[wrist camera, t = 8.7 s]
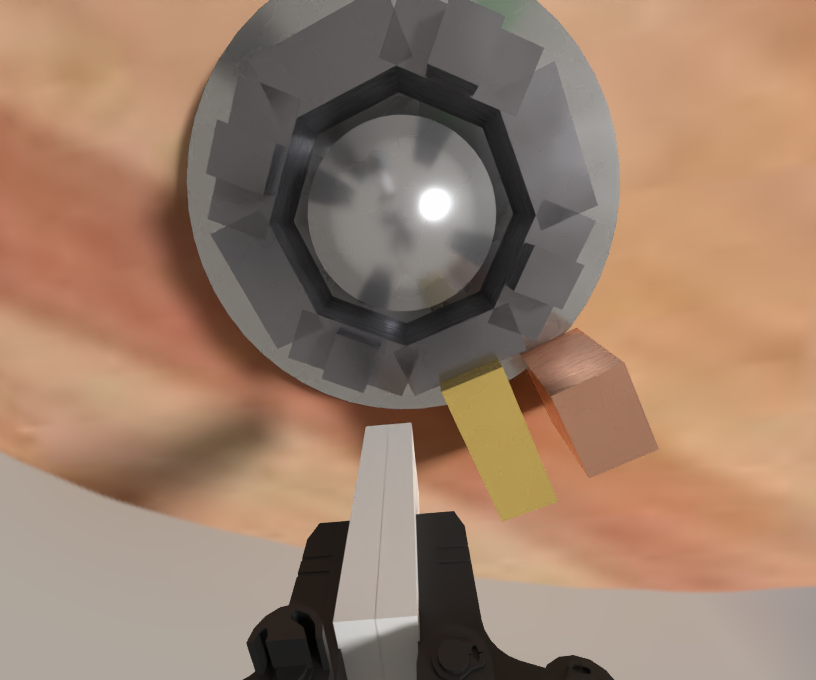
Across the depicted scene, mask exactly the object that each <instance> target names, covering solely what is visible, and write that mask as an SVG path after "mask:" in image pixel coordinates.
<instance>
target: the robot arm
mask: <svg viewBox="0 0 816 680" xmlns="http://www.w3.org/2000/svg"><path fill="white" fill-rule="evenodd" d="M247 646H248V650H249V653H250V656H251V659H252V662H253V665H254V668H255V672H254V673H253V674H252V675H250V676H249V677H247V678H245V679H243V680H614V679H613V678H612V677H611V676H610V675H609V673H608V672H607V671H606V670H604V669H603V668H602V667H600V666H599V665H597V664H596V663H594V662H593V661H591V660H589V659H585V658H582V657H578V656H574V655H571V656H563V657H558V658H556V659H555V660H554V661H552V662H551V663H549V664H548V665H547V666H546V668H543V667H540V666H537V665H533V664H530V663H526V662H523V661H519V660H517V659H514V658H512V657H510V656H508V655H507V654H505V653H504V652H502V651H501V650H500V649H498V648H497V647H496V645H495V644H494V643H493V642H492V641H491V640H490V638H489V637H488V635H487V633H486V632H485V630H484V626H483V623H482V620H481V614H480V609H479V603H478V598H477V592H476V587H475V581H474V575H473V570H472V564H471V560H470V553H469V548H468V542H467V537H466V531H465V526H464V524H463V523H462V522H461V520H460V519H459V518H458V516H457V515H456V514H455V512H454V511H450V512H438V513H425V514H420V512H419V491H418V481H417V471H416V462H415V452H414V442H413V433H412V423H400V424H388V425H377V426H366V429H365V435H364V440H363V446H362V452H361V458H360V464H359V470H358V476H357V482H356V488H355V494H354V500H353V506H352V512H351V518H350V521H342V522H329V523H320V524H319V525H318V526H317V528H316V529H315V530H314V532H313V533H312V534H311V535H310V537H309V538H308V539H307V543H306V547H305V550H304V554H303V558H302V561H301V565H300V568H299V571H298V577H297V579H296V582H295V586H294V589H293V593H292V596H291V600H290V603H289V605H288V606H284V607H280V608H278V609H277V610H275V611H273V612H272V613H270V614H268V615H267V616H265V618H263V619H262V620H261V622H260V623H259V624H258V625H257V626H256V627H255V628H254V629H253V632H252V633H251V635H250V637H249V639H248V641H247Z"/></svg>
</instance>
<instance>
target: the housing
mask: <svg viewBox="0 0 816 680" xmlns="http://www.w3.org/2000/svg"><path fill="white" fill-rule="evenodd" d="M353 1H355V0H270V1H268V2H267V3H266V4H265V5H263V6H262V7H261V8H260V9H259V10H258V11H257V12H256V13H255V14H254V15H253V16H252V17H251V18H250V19H249V20H248V22H247V23H246V24H245V25H244V26H243V27H242V28H241V29H240V30H239V31H238V32H237V34H236V35H235V37H234V38H233V40H232V41H231V42H230V44H229V45H228V47H227V48H226V50H225V51H224V53H223V54H222V56H221V57H220V59H219V60H218V62H217V64H216V66H215V68H214V70H213V72H212V74H211V76H210V78H209V80H208V82H207V84H206V86H205V89H204V92H203V95H202V98H201V101H200V103H199V106H198V109H197V112H196V115H195V118H194V124H193V129H192V134H191V139H190V144H189V150H188V166H187V193H188V209H189V215H190V220H191V226H192V231H193V236H194V240H195V243H196V247H197V250H198V253H199V256H200V259H201V262H202V266H203V268H204V270H205V272H206V274H207V277H208V279H209V281H210V283H211V285H212V288H213V290H214V292H215V293H216V295H217V297H218V298H219V300H220V302H221V303H222V305H223V307H224V308H225V310H226V312H227V313H228V315H229V316H230V317H231V319H232V320H233V321H234V323H235V324H236V325H237V326H238V328H239V329H240V330H241V332H242V333H243V334H244V335H245V337H246V338H247V339H248V340H249V341H250V342H251V343H252V344H253V345H254V346H255V347H256V348H257V349H258V350H259V351H260V352H261V353H262V354H263V355H265V356H266V357H267V358H268V359H270V360H271V361H272V362H273V363H275V364H276V365H277V366H278V367H279V368H281V369H282V370H283V371H285V372H287V373H288V374H290V375H291V376H293V377H295V378H296V379H298V380H299V381H301V382H302V383H304V384H306V385H308V386H310V387H313V388H315V389H317V390H319V391H321V392H323V393H325V394H328V395H331V396H333V397H336V398H339V399H342V400H345V401H348V402H352V403H357V404H362V405H366V406H371V407H379V408H390V409H422V408H429V407H436V406H443V405H447V403H446V401H445V399H444V397H443V395H442V393H441V388H440V386H438V387H436V388H433V389H431V390H428V391H426V392H423V393H421V394H419V395H416V396H414V394H413V392H412V390H411V387H410V385H409V383H407V385H406V388H405V390H404V393H403V395H402V396H399V395H396V394H393V393H390V392H387V391H384V390H381V389H378V388H376V387H373V386H370V385H367V386H366V388H365V391H364V393H362V392H359V391H356V390H353V389H350V388H347V387H344V386H341V385H338V384H335V383H332V382H329V381H326V380H324V379H321V378H322V375H323V372H324V370H323V369H320V368H317V367H314V366H311V365H308V364H305V363H302V362H299V361H296V360H293V359H290V358H288V356H289V352H290V349H291V346H292V343H290V344H288V345H285V346H283V347H281V348H279V349H277V347H276V346H275V344H274V342H273V341H272V339H271V337H270V335H269V334H268V332H267V330H266V329H265V327H264V325H263V324H262V322H261V320H260V318H259V317H258V315H257V313H256V312H255V310H254V308H253V306H252V305H251V303H250V301H249V300H248V298H247V296H246V294H245V293H244V291H243V289H242V288H241V286H240V284H239V282H238V281H237V279H236V277H235V276H234V274H233V272H232V271H231V269H230V267H229V265H228V264H227V262H226V260H225V259H224V257H223V255H222V253H221V252H220V250H219V248H218V247H217V245H216V243H215V241H214V240H213V238H212V236H211V235H210V234H212V233H214V232H216V231H218V230H220V229H221V228H223V227H225V225H222V224H219V223H217V222H214V221H211V220H208V214H209V210H210V205H211V200H212V196H213V191H214V186H215V182H216V177H213V176H210V175H208V174H206V170H207V166H208V161H209V156H210V151H211V146H212V141H213V137H214V132H215V127H216V122H217V119H218V120H220V121H223V122H225V123H228V121H229V117H230V112H231V107H232V103H233V98H234V93H235V89H236V84H237V79H238V75H239V74H241V75H244V76H246V77H249V78H251V79H253V80H256V81H258V82H259V80H258V78H257V76H256V74H255V72H254V70H253V68H252V66H251V64H250V62H249V59H251V58H253V57H255V56H256V55H258V54H260V53H262V52H263V51H265V50H267V49H269V48H271V47H272V46H274V45H276V44H278V43H280V42H281V41H283V40H285V39H287V38H288V37H290V36H292V35H294V34H296V33H297V32H299V31H301V30H303V29H305V28H306V27H308V26H310V25H312V24H313V23H315V22H317V21H319V20H321V19H322V18H324V17H326V16H328V15H330V14H331V13H333V12H335V11H337V10H339V9H340V8H342V7H344V6H346V5H347V4H349V3H351V2H353ZM440 1H443V2H445V3H448V0H440ZM470 1H473V2H475V3H477V4H479V5H481V6H484V7H486V8H488V9H490V10H492V11H494V12H497V13H499V14H501V15H503V16H505V18H504V20H503V23H502V26H501V28H502V29H504V30H506V31H509V32H511V33H513V34H515V35H517V36H520V37H522V38H524V39H526V40H528V41H531V42H533V43H535V44H537V45H539V46H542V47H544V50H543V52H542V55H541V57H540V59H539V62H538V64H537V67H536V69H535V71H536V70H538V69H540V68H542V67H544V66H546V65H548V64H550V63H552V62H554V61H555V63H556V66H557V69H558V73H559V76H560V80H561V83H562V86H563V90H564V93H565V96H566V100H567V103H568V106H569V110H570V113H571V117H572V120H573V123H574V127H575V130H576V133H577V137H578V140H579V143H580V147H581V150H582V154H583V157H584V160H585V164H586V167H587V170H588V174H589V177H590V181H591V184H592V187H593V191H594V194H595V197H596V201H597V204H598V205H597V206H595V207H593V208H591V209H588V210H586V211H584V212H582V213H580V214H581V215H584V216H586V217H589V218H591V219H594V220H596V222H595V224H594V226H593V228H592V231H591V233H590V235H589V237H588V239H587V241H586V243H585V245H584V247H583V249H582V251H581V253H580V255H579V257H578V259H577V261H576V262H578V263H580V264H583V265H585V266H584V268H583V270H582V272H581V274H580V276H579V278H578V280H577V281H576V283H575V285H574V287H573V289H572V291H571V293H570V295H569V297H568V299H567V301H566V303H565V305H564V307H563V309H562V310H561V309H559V308H556V307H553V309H552V311H551V313H550V315H549V317H548V319H547V321H546V323H545V325H544V327H543V329H542V331H541V333H540V335H539V337H538V339H537V341H535V340H533V339H530V338H527V337H525V336H522V335H521V337H522V340H523V342H524V345H525V347H526V351H523V352H521V353H518V354H516V355H513V356H511V357H508V358H506V359H504V360H501V361H500V363H501V365H502V367H503V369H504V371H505V374H506V376H507V379H508V381H509V380H511V379H512V378H514V377H515V376H517V375H518V374H520V373H521V372H523V371H524V370H525V369H527V370H528V373H529V375H530V377H531V379H532V381H533V383H534V385H535V387H536V389H537V391H538V393H539V396H540V398H541V400H542V402H543V404H544V406H545V408H546V410H547V412H548V414H549V417H550V419H551V421H552V423H553V424H554V426H555V427H556V429H557V430H558V432H559V433H560V435H561V436H562V438H563V439H564V441H565V442H566V444H567V445H568V447H569V448H570V450H571V451H572V453H573V454H574V456H575V457H576V459H577V461H578V462H579V464H580V465H581V467H582V468H583V470H584V471H585V473H586V474H587V476H588V477H589V478H591V477H593V476H596V475H598V474H601V473H603V472H605V471H608V470H610V469H613V468H615V467H617V466H620V465H622V464H624V463H627V462H629V461H632V460H634V459H636V458H639V457H641V456H644V455H646V454H648V453H651V452H653V451H656V450H658V446H657V444H656V441H655V439H654V436H653V434H652V431H651V429H650V426H649V424H648V421H647V418H646V416H645V413H644V411H643V408H642V406H641V403H640V401H639V398H638V396H637V393H636V391H635V388H634V386H633V383H632V381H631V378H630V376H629V373H628V371H627V368H626V366H625V363H624V362H623V361H621V360H620V359H618V358H617V357H616V356H614V355H613V354H612V353H610V352H609V351H608V350H606V349H605V348H603V347H602V346H601V345H599V344H598V343H597V342H595V341H594V340H593V339H591V338H590V337H588V336H587V335H586V334H584V333H583V332H582V331H580V330H579V329H577V328H575V329H573V330H571V331H569V332H567V333H565V332H566V331H567V330H568V329H569V328H570V327H571V325H572V324H573V322H574V321H575V319H576V318H577V316H578V315H579V314H580V312H581V311H582V309H583V308H584V306H585V305H586V303H587V301H588V299H589V298H590V296H591V294H592V292H593V290H594V288H595V286H596V284H597V282H598V280H599V278H600V275H601V273H602V270H603V268H604V265H605V262H606V260H607V257H608V254H609V251H610V247H611V243H612V239H613V235H614V231H615V227H616V221H617V213H618V204H619V196H620V176H619V158H618V150H617V143H616V135H615V131H614V127H613V123H612V120H611V116H610V112H609V108H608V105H607V102H606V100H605V97H604V95H603V92H602V90H601V88H600V85H599V83H598V80H597V78H596V76H595V73H594V72H593V70H592V68H591V67H590V65H589V63H588V62H587V60H586V58H585V56H584V55H583V53H582V51H581V50H580V48H579V46H578V45H577V44H576V42H575V41H574V40H573V39H572V37H571V36H570V35H569V34H568V32H567V31H566V30H565V29H564V27H563V26H562V25H561V24H560V22H559V21H558V20H557V19H556V18H555V17H554V16H553V15H552V14H550V13H549V12H548V11H547V10H546V9H545V8H544V7H543V6H542V5H541V4H540V3H539V2H538V1H536V0H470ZM391 2H392V4H393V7H394V6H395V3H396V0H391ZM512 215H513V211H512V209H511V206H510V203H509V200H508V197H507V195H506V192H505V189H504V186H503V184H502V181H501V178H500V175H499V172H498V170H497V167H496V164H495V161H494V159H493V156H492V153H491V150H490V147H489V145H488V142H487V139H486V136H485V133H484V131H483V128H481V127H479V126H477V125H474V124H472V123H470V122H467V121H465V120H462V119H460V118H458V117H455V116H453V115H451V114H448V113H446V112H444V111H441V110H439V109H437V108H434V107H432V106H429V105H427V104H425V103H422V102H420V101H418V100H415V99H413V98H411V97H408V96H406V95H404V94H401V93H397V94H395V95H393V96H391V97H389V98H387V99H385V100H383V101H381V102H379V103H377V104H376V105H374V106H372V107H370V108H368V109H366V110H364V111H362V112H360V113H358V114H356V115H354V116H352V117H350V118H349V119H347V120H345V121H343V122H341V123H339V124H337V125H335V126H333V127H331V128H329V129H327V130H325V131H324V132H322V133H320V134H318V135H317V139H316V142H315V146H314V150H313V153H312V157H311V160H310V164H309V168H308V171H307V175H306V178H305V182H304V186H303V189H302V193H301V196H300V200H299V204H298V207H297V211H296V214H295V218H294V223H295V225H296V227H297V228H298V230H299V232H300V234H301V236H302V238H303V240H304V242H305V244H306V246H307V248H308V250H309V252H310V253H311V255H312V257H313V259H314V261H315V263H316V265H317V267H318V269H319V271H320V273H321V275H322V277H323V279H324V280H325V282H326V284H327V286H328V288H329V290H330V292H331V294H332V296H333V297H336V298H339V299H342V300H344V301H347V302H350V303H353V304H355V305H358V306H361V307H364V308H366V309H369V310H372V311H375V312H377V313H380V314H383V315H386V316H389V317H391V318H394V319H397V320H400V321H402V322H405V323H408V322H410V321H413V320H415V319H417V318H420V317H422V316H424V315H426V314H429V313H431V312H433V311H436V310H438V309H440V308H442V307H445V306H447V305H449V304H452V303H454V302H456V301H458V300H461V299H463V298H465V297H468V296H470V295H472V294H474V293H477V292H479V291H480V289H481V287H482V284H483V282H484V280H485V277H486V275H487V273H488V271H489V268H490V266H491V264H492V261H493V259H494V257H495V254H496V252H497V250H498V248H499V245H500V243H501V241H502V238H503V236H504V234H505V231H506V229H507V227H508V225H509V222H510V220H511V218H512ZM564 333H565V334H564Z"/></svg>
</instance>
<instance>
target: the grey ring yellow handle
mask: <svg viewBox="0 0 816 680" xmlns="http://www.w3.org/2000/svg"><path fill="white" fill-rule="evenodd" d="M504 18H505V16H503V15H501V14H499V13H497V12H494V11H492V10H490V9H488V8H486V7H484V6H481V5H479V4H477V3H475V2H473V1H470V0H448V3H445V2H443V1H440V0H396V3H395V6H394V7H393V4H392V2H391V0H355V1H353V2H351V3H349V4H347V5H346V6H344V7H342V8H340V9H339V10H337V11H335V12H333V13H331V14H330V15H328V16H326V17H324V18H322V19H321V20H319V21H317V22H315V23H313V24H312V25H310V26H308V27H306V28H305V29H303V30H301V31H299V32H297V33H296V34H294V35H292V36H290V37H288V38H287V39H285V40H283V41H281V42H280V43H278V44H276V45H274V46H272V47H271V48H269V49H267V50H265V51H263V52H262V53H260V54H258V55H256V56H255V57H253V58H251V59H249V62H250V64H251V66H252V68H253V70H254V72H255V74H256V76H257V78H258V80H259V82H258V81H256V80H253V79H251V78H249V77H246V76H244V75H241V74H239V75H238V79H237V84H236V89H235V93H234V98H233V103H232V107H231V112H230V117H229V121H228V123H225V122H223V121H220V120H218V119H217V122H216V127H215V132H214V137H213V141H212V146H211V151H210V156H209V161H208V166H207V170H206V174H208V175H210V176H213V177H216V182H215V186H214V191H213V196H212V200H211V205H210V210H209V214H208V220H211V221H214V222H217V223H219V224H222V225H225V227H223V228H221V229H220V230H218V231H216V232H214V233H212V234H210V235H211V236H212V238H213V240H214V241H215V243H216V245H217V247H218V248H219V250H220V252H221V253H222V255H223V257H224V259H225V260H226V262H227V264H228V265H229V267H230V269H231V271H232V272H233V274H234V276H235V277H236V279H237V281H238V282H239V284H240V286H241V288H242V289H243V291H244V293H245V294H246V296H247V298H248V300H249V301H250V303H251V305H252V306H253V308H254V310H255V312H256V313H257V315H258V317H259V318H260V320H261V322H262V324H263V325H264V327H265V329H266V330H267V332H268V334H269V335H270V337H271V339H272V341H273V342H274V344H275V346H276V347H277V349H279V348H281V347H283V346H285V345H288V344H290V343H292V346H291V349H290V352H289V356H288V358H290V359H293V360H296V361H299V362H302V363H305V364H308V365H311V366H314V367H317V368H320V369H323V370H324V372H323V375H322V378H321V379H324V380H326V381H329V382H332V383H335V384H338V385H341V386H344V387H347V388H350V389H353V390H356V391H359V392H362V393H364V391H365V388H366V386H367V385H370V386H373V387H376V388H378V389H381V390H384V391H387V392H390V393H393V394H396V395H399V396H402V395H403V393H404V390H405V388H406V385H407V383H409V385H410V387H411V390H412V392H413V394H414V396H416V395H419V394H421V393H423V392H426V391H428V390H431V389H433V388H436V387H438V386H440V388H441V393H442V395H443V397H444V399H445V401H446V403H447V405H448V408H449V410H450V412H451V414H452V416H453V418H454V420H455V422H456V424H457V427H458V429H459V431H460V433H461V435H462V437H463V439H464V441H465V444H466V446H467V448H468V450H469V452H470V454H471V456H472V458H473V461H474V463H475V465H476V467H477V469H478V471H479V473H480V475H481V478H482V480H483V482H484V484H485V486H486V488H487V490H488V492H489V495H490V497H491V499H492V501H493V503H494V505H495V507H496V509H497V512H498V514H499V516H500V518H501V520H502V521H505V520H508V519H511V518H513V517H516V516H519V515H522V514H525V513H527V512H530V511H533V510H536V509H539V508H541V507H544V506H547V505H550V504H553V503H555V502H558V500H557V497H556V495H555V493H554V490H553V488H552V485H551V483H550V481H549V478H548V476H547V473H546V471H545V468H544V466H543V464H542V461H541V459H540V456H539V454H538V451H537V449H536V447H535V444H534V442H533V439H532V437H531V434H530V432H529V430H528V427H527V425H526V422H525V420H524V417H523V415H522V413H521V410H520V408H519V405H518V403H517V400H516V398H515V396H514V393H513V391H512V388H511V386H510V383H509V381H508V379H507V376H506V374H505V371H504V369H503V367H502V365H501V363H500V361H501V360H504V359H506V358H508V357H511V356H513V355H516V354H518V353H521V352H523V351H526V347H525V345H524V342H523V340H522V337H521V335H522V336H525V337H527V338H530V339H533V340H535V341H537V339H538V337H539V335H540V333H541V331H542V329H543V327H544V325H545V323H546V321H547V319H548V317H549V315H550V313H551V311H552V309H553V307H556V308H559V309H561V310H562V309H563V307H564V305H565V303H566V301H567V299H568V297H569V295H570V293H571V291H572V289H573V287H574V285H575V283H576V281H577V280H578V278H579V276H580V274H581V272H582V270H583V268H584V266H585V265H583V264H580V263H578V262H576V261H577V259H578V257H579V255H580V253H581V251H582V249H583V247H584V245H585V243H586V241H587V239H588V237H589V235H590V233H591V231H592V228H593V226H594V224H595V222H596V220H594V219H591V218H589V217H586V216H584V215H581V214H580V213H582V212H584V211H586V210H588V209H591V208H593V207H595V206H597V205H598V204H597V201H596V197H595V194H594V191H593V187H592V184H591V181H590V177H589V174H588V170H587V167H586V164H585V160H584V157H583V154H582V150H581V147H580V143H579V140H578V137H577V133H576V130H575V127H574V123H573V120H572V117H571V113H570V110H569V106H568V103H567V100H566V96H565V93H564V90H563V86H562V83H561V80H560V76H559V73H558V69H557V66H556V63H555V61H554V62H552V63H550V64H548V65H546V66H544V67H542V68H540V69H538V70H536V71H535V69H536V67H537V64H538V62H539V59H540V57H541V55H542V52H543V50H544V47H542V46H539V45H537V44H535V43H533V42H531V41H528V40H526V39H524V38H522V37H520V36H517V35H515V34H513V33H511V32H509V31H506V30H504V29H502V28H501V26H502V23H503V20H504ZM397 93H401V94H404V95H406V96H408V97H411V98H413V99H415V100H418V101H420V102H422V103H425V104H427V105H429V106H432V107H434V108H437V109H439V110H441V111H444V112H446V113H448V114H451V115H453V116H455V117H458V118H460V119H462V120H465V121H467V122H470V123H472V124H474V125H477V126H479V127H481V128H483V131H484V133H485V136H486V139H487V142H488V145H489V147H490V150H491V153H492V156H493V159H494V161H495V164H496V167H497V170H498V172H499V175H500V178H501V181H502V184H503V186H504V189H505V192H506V195H507V197H508V200H509V203H510V206H511V209H512V211H513V215H512V218H511V220H510V222H509V225H508V227H507V229H506V231H505V234H504V236H503V238H502V241H501V243H500V245H499V248H498V250H497V252H496V254H495V257H494V259H493V261H492V264H491V266H490V268H489V271H488V273H487V275H486V277H485V280H484V282H483V284H482V287H481V289H480V291H479V292H477V293H474V294H472V295H470V296H468V297H465V298H463V299H461V300H458V301H456V302H454V303H452V304H449V305H447V306H445V307H442V308H440V309H438V310H436V311H433V312H431V313H429V314H426V315H424V316H422V317H420V318H417V319H415V320H413V321H410V322H408V323H405V322H402V321H400V320H397V319H394V318H391V317H389V316H386V315H383V314H380V313H377V312H375V311H372V310H369V309H366V308H364V307H361V306H358V305H355V304H353V303H350V302H347V301H344V300H342V299H339V298H336V297H333V296H332V294H331V292H330V290H329V288H328V286H327V284H326V282H325V280H324V279H323V277H322V275H321V273H320V271H319V269H318V267H317V265H316V263H315V261H314V259H313V257H312V255H311V253H310V252H309V250H308V248H307V246H306V244H305V242H304V240H303V238H302V236H301V234H300V232H299V230H298V228H297V227H296V225H295V223H294V218H295V214H296V211H297V207H298V204H299V200H300V196H301V193H302V189H303V186H304V182H305V178H306V175H307V171H308V168H309V164H310V160H311V157H312V153H313V150H314V146H315V142H316V139H317V135H318V134H320V133H322V132H324V131H325V130H327V129H329V128H331V127H333V126H335V125H337V124H339V123H341V122H343V121H345V120H347V119H349V118H350V117H352V116H354V115H356V114H358V113H360V112H362V111H364V110H366V109H368V108H370V107H372V106H374V105H376V104H377V103H379V102H381V101H383V100H385V99H387V98H389V97H391V96H393V95H395V94H397Z"/></svg>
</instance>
